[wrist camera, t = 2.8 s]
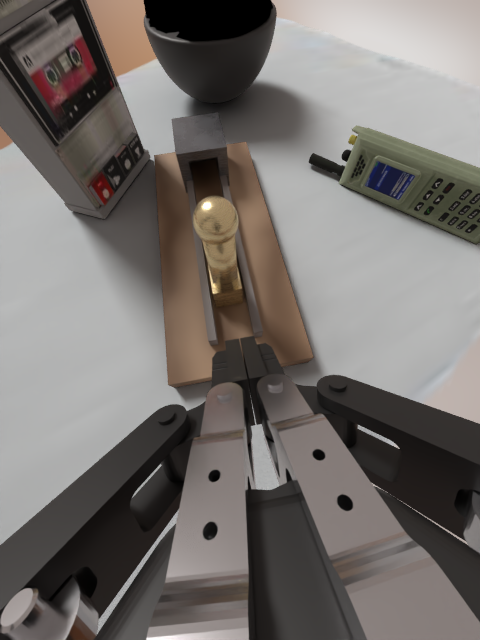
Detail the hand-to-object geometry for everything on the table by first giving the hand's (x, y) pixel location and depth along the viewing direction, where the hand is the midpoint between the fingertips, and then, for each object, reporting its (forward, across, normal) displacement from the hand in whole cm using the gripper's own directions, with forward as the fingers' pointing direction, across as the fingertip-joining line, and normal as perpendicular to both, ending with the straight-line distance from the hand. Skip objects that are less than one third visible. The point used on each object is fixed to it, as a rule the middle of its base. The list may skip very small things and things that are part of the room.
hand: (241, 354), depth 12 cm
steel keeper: (+28, 0, -14) cm, 31 cm away
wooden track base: (+22, 0, -4) cm, 22 cm away
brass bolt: (+16, 0, -1) cm, 16 cm away
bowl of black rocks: (+46, -5, -29) cm, 55 cm away
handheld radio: (+24, -24, -6) cm, 35 cm away
